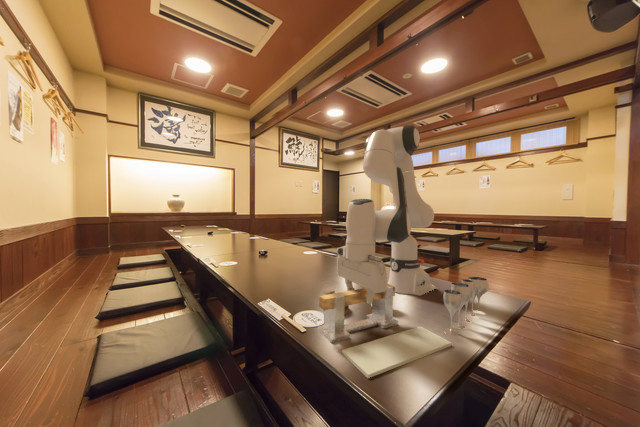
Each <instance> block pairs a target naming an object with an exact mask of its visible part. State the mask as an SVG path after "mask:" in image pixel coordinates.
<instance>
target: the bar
mask: <svg viewBox="0 0 640 427" xmlns="http://www.w3.org/2000/svg"><path fill="white" fill-rule="evenodd" d="M387 287H393V297H396V292H395V286H392V285H390V284H388V283H387ZM341 295H343V296H345V305H344V306H348V305H349V306H353V305H357V304H362V303H365V297H366V296H367V295H368V292H367V288H364V287H363V288H357V289H355V290H351V291H347V290H345V291H339V292H335V293H333V294H328V295H324V294H323V295H319V296H318V299H319V300H318V307H319V308H321V309H322V310H323V311H324V310H329V309H333V297H336V296H341ZM382 298H383V292H380V293H375V295H374V297H373V300H378V299H382Z"/></svg>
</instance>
